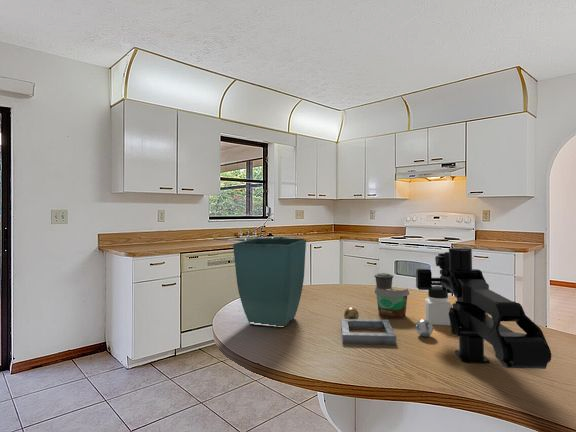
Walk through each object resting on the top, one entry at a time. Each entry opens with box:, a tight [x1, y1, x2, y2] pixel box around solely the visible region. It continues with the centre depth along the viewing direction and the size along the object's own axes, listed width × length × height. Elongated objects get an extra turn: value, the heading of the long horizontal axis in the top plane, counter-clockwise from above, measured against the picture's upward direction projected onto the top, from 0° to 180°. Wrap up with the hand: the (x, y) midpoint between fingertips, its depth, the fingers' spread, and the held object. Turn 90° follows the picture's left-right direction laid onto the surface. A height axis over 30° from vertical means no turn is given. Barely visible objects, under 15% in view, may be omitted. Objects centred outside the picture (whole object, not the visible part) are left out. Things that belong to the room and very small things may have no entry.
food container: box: [373, 286, 410, 320], centre depth 128 cm, size 12×6×10 cm, turn 62°
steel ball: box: [415, 318, 434, 338], centre depth 108 cm, size 5×5×5 cm
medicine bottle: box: [424, 285, 453, 327], centre depth 121 cm, size 7×7×12 cm
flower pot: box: [232, 237, 307, 327], centre depth 125 cm, size 20×20×28 cm
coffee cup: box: [374, 272, 394, 289], centre depth 156 cm, size 8×8×10 cm
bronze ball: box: [343, 307, 360, 319], centre depth 123 cm, size 5×5×5 cm
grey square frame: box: [340, 318, 397, 346], centre depth 110 cm, size 15×15×2 cm
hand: (440, 275), depth 117 cm, fingers open, 9 cm apart
